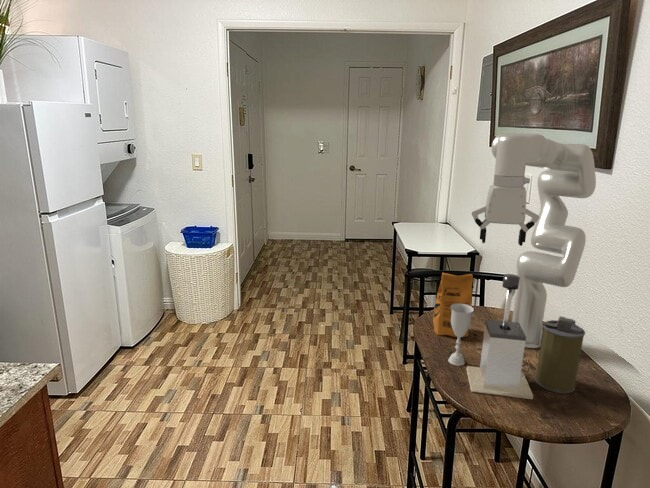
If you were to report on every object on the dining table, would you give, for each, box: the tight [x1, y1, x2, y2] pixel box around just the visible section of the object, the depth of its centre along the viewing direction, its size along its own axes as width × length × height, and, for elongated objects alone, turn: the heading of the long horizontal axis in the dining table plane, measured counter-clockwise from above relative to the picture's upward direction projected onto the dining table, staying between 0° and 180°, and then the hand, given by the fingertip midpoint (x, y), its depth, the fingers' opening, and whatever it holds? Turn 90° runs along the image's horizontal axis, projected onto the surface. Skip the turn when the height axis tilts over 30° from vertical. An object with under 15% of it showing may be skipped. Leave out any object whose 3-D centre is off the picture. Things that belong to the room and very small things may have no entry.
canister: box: [534, 316, 586, 394], centre depth 124 cm, size 11×10×20 cm
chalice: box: [447, 303, 474, 367], centre depth 136 cm, size 7×7×18 cm
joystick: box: [465, 319, 534, 400], centre depth 124 cm, size 16×12×17 cm
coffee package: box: [432, 272, 474, 338], centre depth 156 cm, size 10×12×22 cm
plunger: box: [502, 273, 520, 330], centre depth 121 cm, size 6×6×22 cm
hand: (501, 243), depth 123 cm, fingers open, 9 cm apart
